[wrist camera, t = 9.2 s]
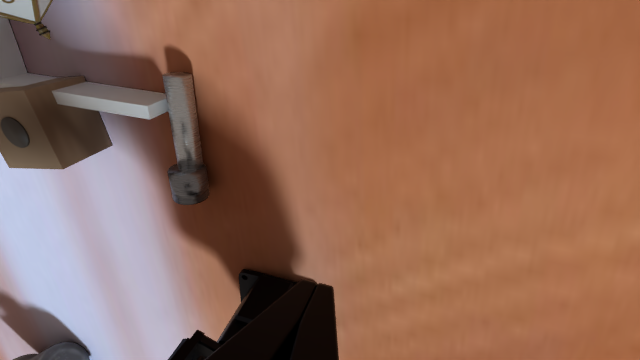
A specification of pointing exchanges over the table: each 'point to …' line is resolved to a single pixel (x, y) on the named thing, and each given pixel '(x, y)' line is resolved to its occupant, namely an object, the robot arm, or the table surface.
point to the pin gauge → (185, 141)
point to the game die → (27, 12)
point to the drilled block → (47, 127)
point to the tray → (78, 86)
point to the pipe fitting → (59, 353)
